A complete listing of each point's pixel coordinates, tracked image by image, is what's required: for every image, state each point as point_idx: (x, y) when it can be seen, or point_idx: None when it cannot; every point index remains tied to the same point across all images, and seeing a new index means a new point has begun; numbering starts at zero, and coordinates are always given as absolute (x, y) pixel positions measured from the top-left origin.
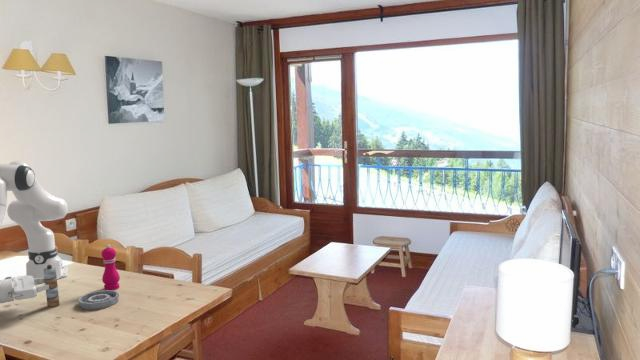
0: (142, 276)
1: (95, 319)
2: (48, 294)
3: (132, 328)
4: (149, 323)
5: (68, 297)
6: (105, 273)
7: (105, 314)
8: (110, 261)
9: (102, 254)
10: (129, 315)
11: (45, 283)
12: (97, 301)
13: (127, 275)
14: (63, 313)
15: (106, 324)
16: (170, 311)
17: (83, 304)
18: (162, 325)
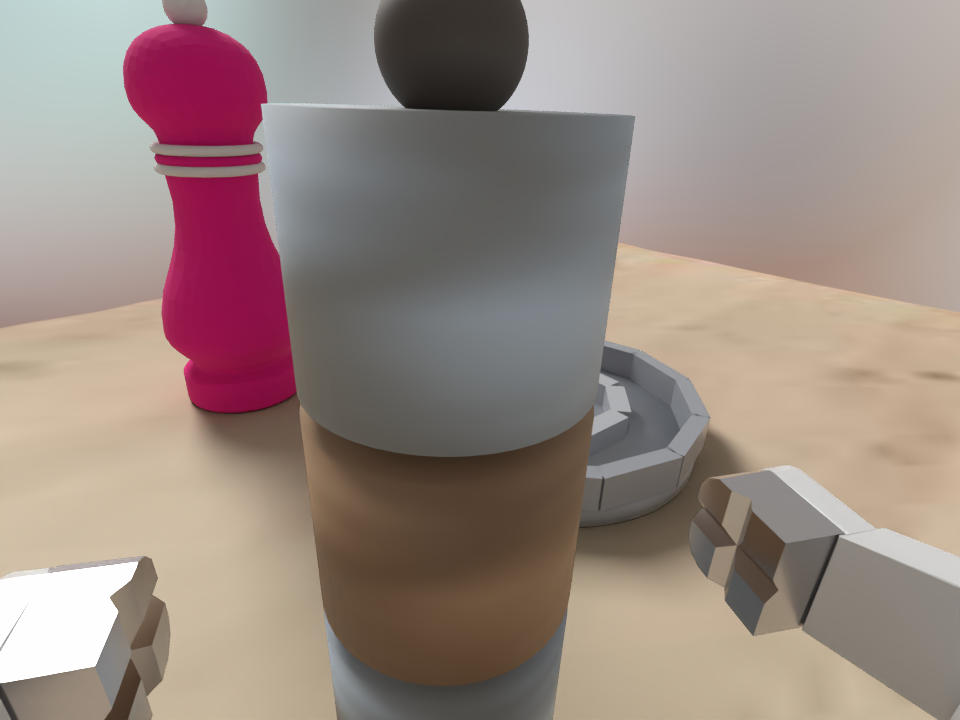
0: (156, 308)
1: (884, 438)
2: (547, 717)
3: (953, 345)
4: (874, 317)
5: (200, 644)
6: (246, 272)
7: (784, 406)
8: (260, 156)
9: (209, 79)
10: (789, 348)
11: (530, 566)
12: (627, 400)
13: (34, 340)
14: (790, 638)
15: (946, 402)
16: (733, 287)
17: (687, 457)
18: (883, 302)
